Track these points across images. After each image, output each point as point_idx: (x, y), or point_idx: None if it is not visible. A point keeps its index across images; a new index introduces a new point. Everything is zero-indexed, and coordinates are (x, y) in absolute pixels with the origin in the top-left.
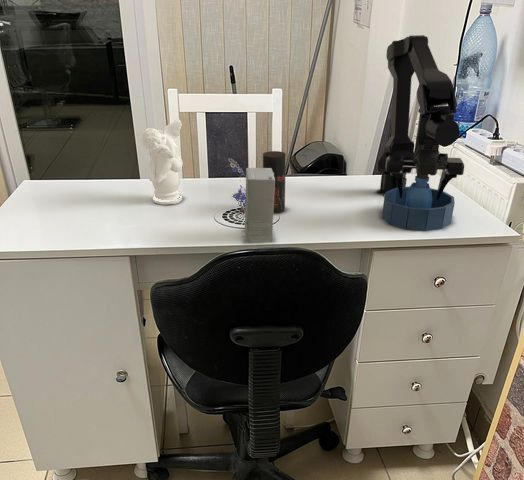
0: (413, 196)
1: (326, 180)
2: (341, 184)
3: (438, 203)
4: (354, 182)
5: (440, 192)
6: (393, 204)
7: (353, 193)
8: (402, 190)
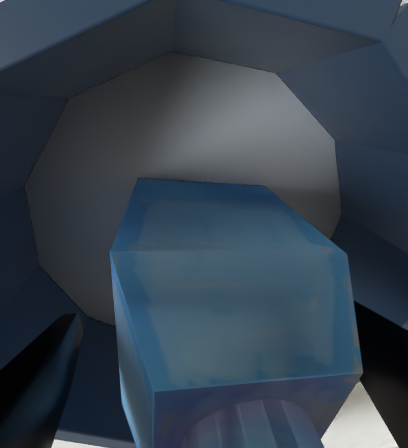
0: (305, 268)
1: (387, 437)
2: (362, 428)
3: (83, 353)
4: (325, 444)
5: (13, 371)
6: None
7: (357, 392)
8: (392, 341)
